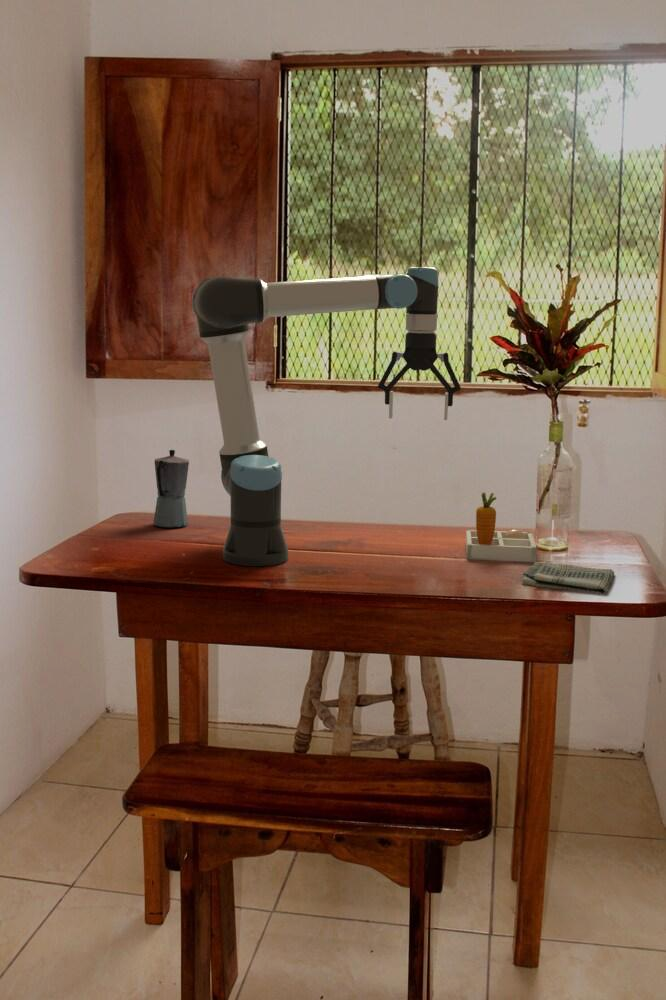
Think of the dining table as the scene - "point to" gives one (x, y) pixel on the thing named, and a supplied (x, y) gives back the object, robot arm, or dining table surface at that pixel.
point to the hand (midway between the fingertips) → (418, 418)
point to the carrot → (485, 521)
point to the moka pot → (171, 491)
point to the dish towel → (569, 577)
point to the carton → (501, 548)
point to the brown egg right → (515, 534)
